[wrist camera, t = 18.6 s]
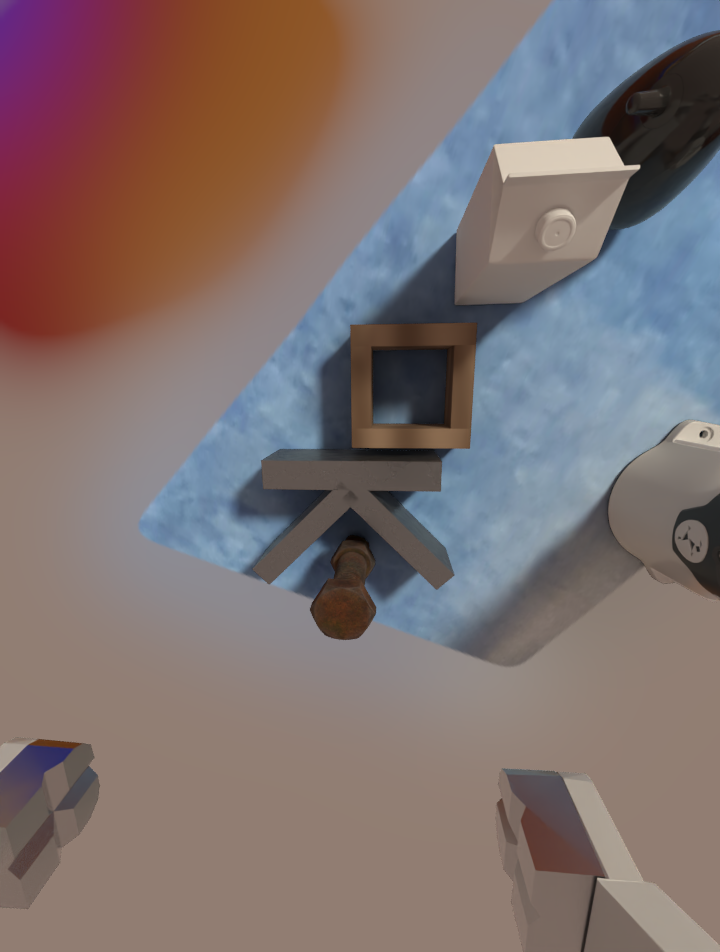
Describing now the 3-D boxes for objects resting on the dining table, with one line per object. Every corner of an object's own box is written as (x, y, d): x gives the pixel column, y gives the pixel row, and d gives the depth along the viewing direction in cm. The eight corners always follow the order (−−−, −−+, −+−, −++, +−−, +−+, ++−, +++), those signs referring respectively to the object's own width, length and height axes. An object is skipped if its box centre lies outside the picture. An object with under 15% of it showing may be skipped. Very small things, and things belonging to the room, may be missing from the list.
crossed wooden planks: (449, 450, 45) (460, 462, 38) (444, 561, 48) (453, 590, 41) (265, 448, 47) (243, 460, 40) (272, 556, 50) (253, 584, 43)
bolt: (361, 573, 49) (349, 653, 35) (327, 552, 49) (300, 624, 35) (386, 537, 48) (384, 604, 34) (351, 515, 48) (334, 573, 33)
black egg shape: (537, 143, 38) (632, -10, 23) (652, 107, 36) (831, -81, 22) (552, 257, 40) (648, 183, 25) (662, 226, 39) (831, 128, 24)
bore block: (467, 329, 42) (477, 322, 37) (461, 441, 45) (469, 448, 40) (354, 331, 43) (350, 324, 38) (355, 440, 46) (351, 447, 41)
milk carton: (456, 230, 40) (512, 100, 22) (528, 226, 39) (649, 90, 21) (453, 305, 42) (504, 245, 23) (523, 303, 41) (631, 238, 23)
